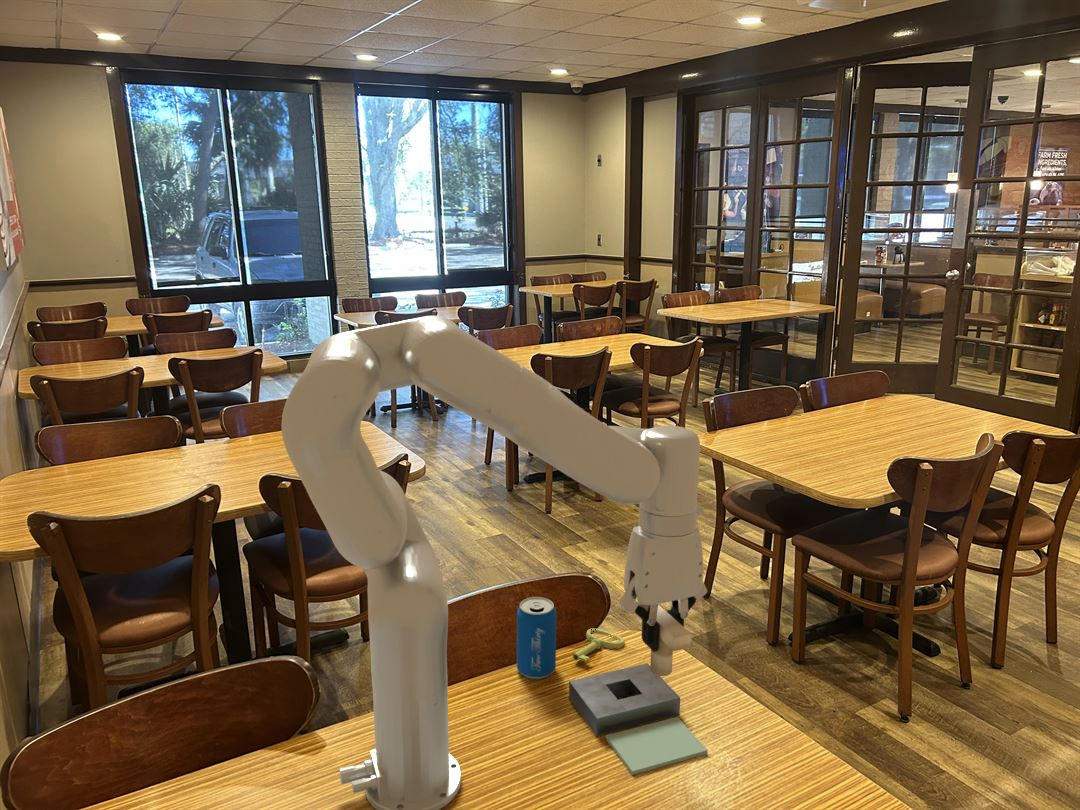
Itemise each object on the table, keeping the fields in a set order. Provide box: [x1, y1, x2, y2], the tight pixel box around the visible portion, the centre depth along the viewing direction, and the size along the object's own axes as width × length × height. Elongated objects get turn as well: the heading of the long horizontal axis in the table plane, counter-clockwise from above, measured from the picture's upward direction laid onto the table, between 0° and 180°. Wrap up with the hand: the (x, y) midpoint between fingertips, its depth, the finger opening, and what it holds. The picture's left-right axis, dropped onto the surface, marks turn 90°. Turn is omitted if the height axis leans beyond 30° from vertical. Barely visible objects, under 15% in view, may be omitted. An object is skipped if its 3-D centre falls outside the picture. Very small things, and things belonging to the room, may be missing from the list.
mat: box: [605, 716, 708, 776], centre depth 110 cm, size 12×8×1 cm, turn 112°
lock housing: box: [568, 663, 681, 737], centre depth 119 cm, size 14×10×3 cm
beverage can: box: [516, 596, 557, 680], centre depth 127 cm, size 6×6×12 cm
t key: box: [636, 602, 692, 677], centre depth 106 cm, size 10×3×8 cm, turn 22°
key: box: [572, 628, 625, 663], centre depth 135 cm, size 7×12×2 cm, turn 162°
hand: (662, 642), depth 106 cm, fingers closed on t key, 3 cm apart
